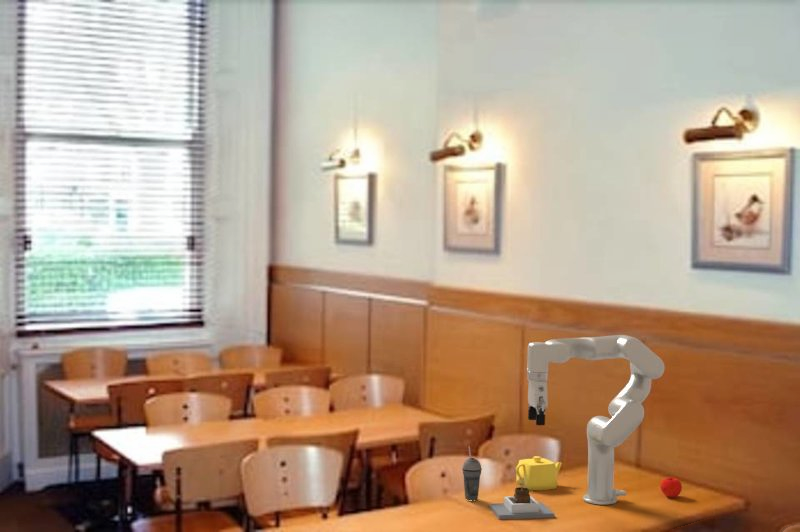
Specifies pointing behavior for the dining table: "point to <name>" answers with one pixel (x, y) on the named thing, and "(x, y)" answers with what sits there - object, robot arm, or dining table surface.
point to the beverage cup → (471, 477)
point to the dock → (521, 509)
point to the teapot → (538, 473)
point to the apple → (671, 487)
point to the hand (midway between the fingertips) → (536, 422)
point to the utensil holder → (521, 494)
